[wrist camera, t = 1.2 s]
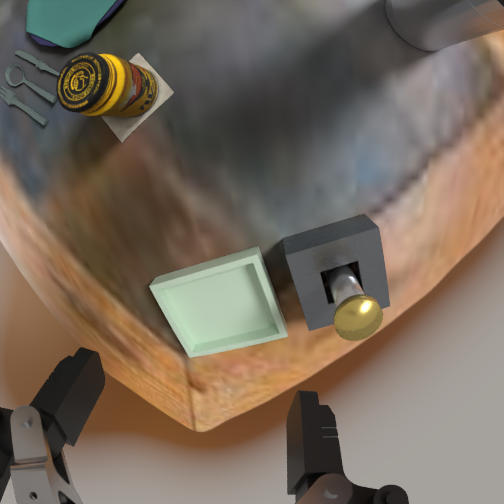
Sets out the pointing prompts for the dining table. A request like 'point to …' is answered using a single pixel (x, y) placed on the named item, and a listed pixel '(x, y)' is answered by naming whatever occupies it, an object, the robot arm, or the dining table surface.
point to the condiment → (112, 90)
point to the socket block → (336, 265)
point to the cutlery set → (58, 35)
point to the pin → (352, 305)
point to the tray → (221, 303)
